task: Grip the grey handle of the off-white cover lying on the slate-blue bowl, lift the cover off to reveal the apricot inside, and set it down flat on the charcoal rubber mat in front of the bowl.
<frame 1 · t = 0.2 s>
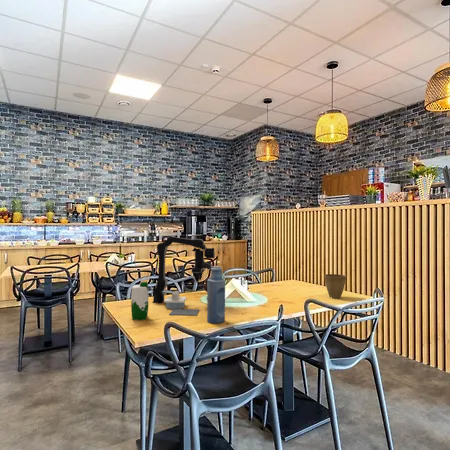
hand: (198, 281, 223), 14 cm above the table, tool pointing down, fingers open, 9 cm apart
ice cream bowl: (210, 298, 235), on the table
milk carton: (139, 318, 187), on the table
bottle: (216, 321, 182), on the table
plant pot: (334, 297, 241), on the table
mat: (184, 312, 199), on the table
apricot: (175, 303, 212), point 2 cm above the table, touching dish
cover: (175, 300, 212), point 4 cm above the table, touching dish
dish: (175, 306, 213), on the table
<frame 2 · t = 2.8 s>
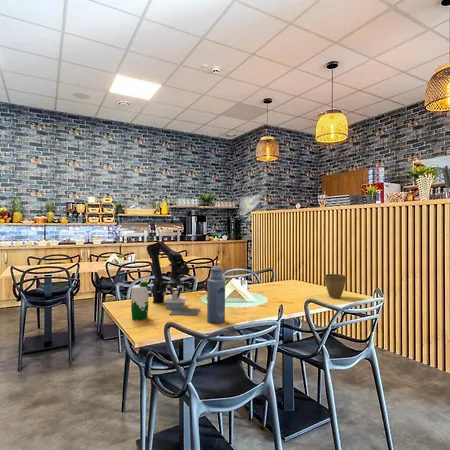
hand: (175, 298, 212), 6 cm above the table, tool pointing down, fingers closed on cover, 3 cm apart
cover: (175, 300, 212), point 4 cm above the table, touching dish, gripper
everything else where it was.
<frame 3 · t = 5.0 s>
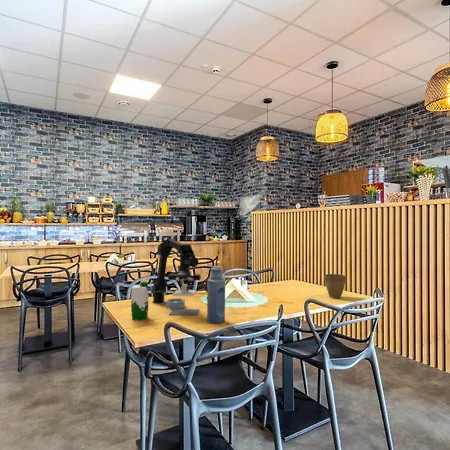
hand: (184, 291, 199), 13 cm above the table, tool pointing down, fingers closed on cover, 3 cm apart
cover: (184, 293, 199), point 11 cm above the table, touching gripper
everything else where it was.
when the fingers open (4 cm above the table, at t = 7.2 s): cover drops 2 cm, resting on mat.
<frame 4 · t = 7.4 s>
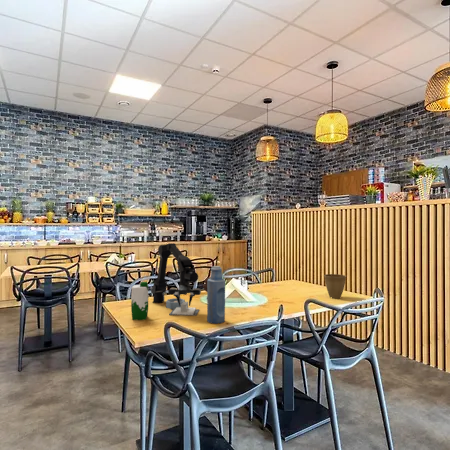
hand: (184, 305, 199), 4 cm above the table, tool pointing down, fingers open, 5 cm apart
cover: (184, 311, 199), resting on mat
everything else where it was.
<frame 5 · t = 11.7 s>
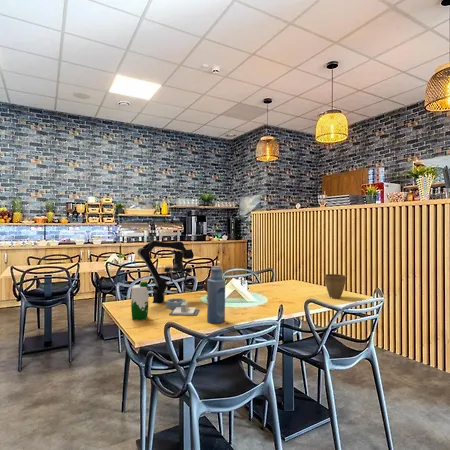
hand: (178, 282, 232), 12 cm above the table, tool pointing down, fingers open, 9 cm apart
nothing on the table moved.
at the end: cover inside the target area on the mat (0.1 cm from its centre), point 0.5 cm above the mat's base; cover tilted 0°; the gripper is holding nothing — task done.
